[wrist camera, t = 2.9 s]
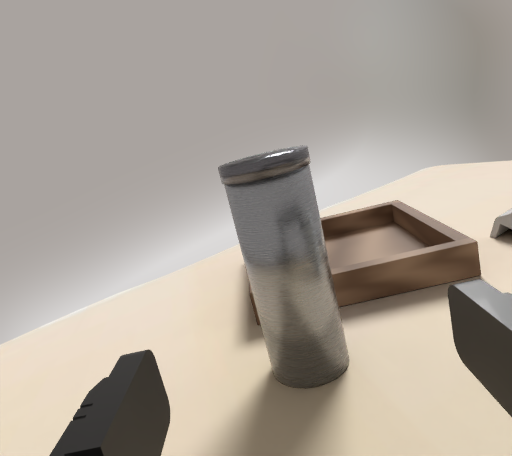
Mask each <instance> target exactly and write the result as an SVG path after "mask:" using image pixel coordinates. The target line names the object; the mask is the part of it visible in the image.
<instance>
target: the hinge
mask: <svg viewBox="0 0 512 456" xmlns="http://www.w3.org/2000/svg"><path fill="white" fill-rule="evenodd" d="M509 228H510V229H512V208H511V209H510V210H508V211H507V212H505V213H503V214H502V215H500V216H499V217H497V218H496V219H495V221H494V225H493V228H492V231H491V235H490V237H494V238H496V237H498V236H499V235H500V234H502V233H503V232H505V231H506V230H508V229H509Z"/></svg>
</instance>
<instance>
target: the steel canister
mask: <svg viewBox="0 0 512 456" xmlns="http://www.w3.org/2000/svg"><path fill="white" fill-rule="evenodd" d="M309 164H310V157H309V152H308V147H307V146H296V147H290V148H284V149H279V150H274V151H270V152H266V153H261V154H258V155H254V156H250V157H246V158H243V159H239V160H236V161H233V162H229V163H226V164H224V165H222V166H219V167H218V170H219V174H220V178H221V181H222V184H224V185H225V189H226V193H227V197H228V201H229V205H230V208H231V212H232V216H233V220H234V224H235V228H236V231H237V235H238V239H239V243H240V247H241V251H242V255H243V258H244V262H245V266H246V270H247V274H248V278H249V281H250V285H251V289H252V293H253V297H254V301H255V305H256V308H257V312H258V316H259V320H260V324H261V328H262V332H263V335H264V339H265V343H266V347H267V351H268V355H269V358H270V362H271V366H272V370H273V374H274V376H275V378H276V379H277V380H278V381H279V382H281V383H282V384H284V385H287V386H290V387H296V388H310V387H316V386H320V385H323V384H326V383H328V382H331V381H333V380H334V379H336V378H337V377H339V376H340V375H341V374H342V373H343V372H344V371H345V370H346V368H347V367H348V364H349V355H348V350H347V345H346V341H345V336H344V331H343V326H342V321H341V316H340V312H339V307H338V302H337V297H336V292H335V288H334V283H333V278H332V273H331V268H330V263H329V259H328V254H327V249H326V244H325V239H324V235H323V230H322V225H321V220H320V215H319V210H318V206H317V201H316V196H315V192H314V186H313V182H312V177H311V172H310V167H309Z"/></svg>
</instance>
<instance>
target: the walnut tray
mask: <svg viewBox="0 0 512 456" xmlns="http://www.w3.org/2000/svg"><path fill="white" fill-rule="evenodd" d="M320 220H321V225H322V230H323V235H324V239H325V244H326V249H327V254H328V259H329V263H330V268H331V273H332V278H333V283H334V288H335V292H336V297H337V302H338V307H341V306H345V305H350V304H354V303H359V302H363V301H367V300H372V299H376V298H381V297H385V296H390V295H394V294H399V293H403V292H408V291H412V290H417V289H421V288H425V287H430V286H434V285H439V284H443V283H448V282H452V281H457V280H461V279H466V278H470V277H475V276H479V275H481V270H480V262H479V253H478V244H477V241H475V240H473V239H471V238H470V237H468V236H466V235H464V234H462V233H460V232H458V231H456V230H454V229H452V228H450V227H448V226H446V225H445V224H443V223H441V222H439V221H437V220H435V219H433V218H431V217H429V216H427V215H425V214H423V213H421V212H420V211H418V210H416V209H414V208H412V207H410V206H408V205H406V204H404V203H402V202H400V201H398V200H396V201H392V202H387V203H383V204H379V205H375V206H370V207H366V208H362V209H357V210H353V211H349V212H345V213H340V214H336V215H332V216H328V217H323V218H320ZM250 297H251V301H252V305H253V308H254V312H255V316H256V320H257V324H258V325H260V320H259V316H258V312H257V308H256V305H255V301H254V297H253V293H252V289H251V285H250Z"/></svg>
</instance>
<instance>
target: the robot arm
mask: <svg viewBox="0 0 512 456" xmlns="http://www.w3.org/2000/svg"><path fill="white" fill-rule="evenodd" d="M448 299H449V307H450V314H451V322H452V330H453V337H454V343H455V346H456V349H457V352H458V354H459V356H460V358H461V360H462V362H463V363H464V364H465V366H466V367H467V368H468V369H469V370H470V371H471V372H472V373H473V374H474V376H475V377H476V378H477V379H478V380H479V381H480V382H481V383H482V385H483V386H484V387H485V388H486V389H487V390H488V391H489V392H490V393H491V395H492V396H493V397H494V398H495V399H496V400H497V401H498V402H499V403H500V405H501V406H502V407H503V408H504V409H505V410H506V411H507V412H508V414H509V415H510V416H511V417H512V294H511V293H501V292H500V291H498V290H497V289H495V288H494V287H492V286H491V285H489V284H488V283H486V282H485V281H483V280H481V279H477V280H472V281H468V282H463V283H458V284H454V285H450V286H449V288H448ZM169 423H170V406H169V401H168V397H167V394H166V391H165V388H164V385H163V381H162V378H161V375H160V372H159V369H158V366H157V363H156V360H155V357H154V355H153V353H152V351H151V350H145V351H140V352H135V353H131V354H126V355H122V356H121V357H120V358H119V360H118V361H117V363H116V365H115V367H114V368H113V370H112V372H111V374H110V375H109V377H106V378H104V379H102V380H101V381H100V382H99V383H98V384H97V385H96V386H95V387H94V388H93V389H91V390H90V391H89V393H88V394H87V396H86V397H85V399H84V401H83V402H82V404H81V406H80V409H78V410H77V412H76V414H75V415H74V417H73V421H71V422H70V423H69V425H68V427H67V428H66V430H65V431H64V433H63V435H62V436H61V438H60V440H59V441H58V443H57V444H56V446H55V448H54V449H53V451H52V452H51V454H50V456H161V452H162V449H163V445H164V442H165V438H166V435H167V431H168V427H169Z"/></svg>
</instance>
